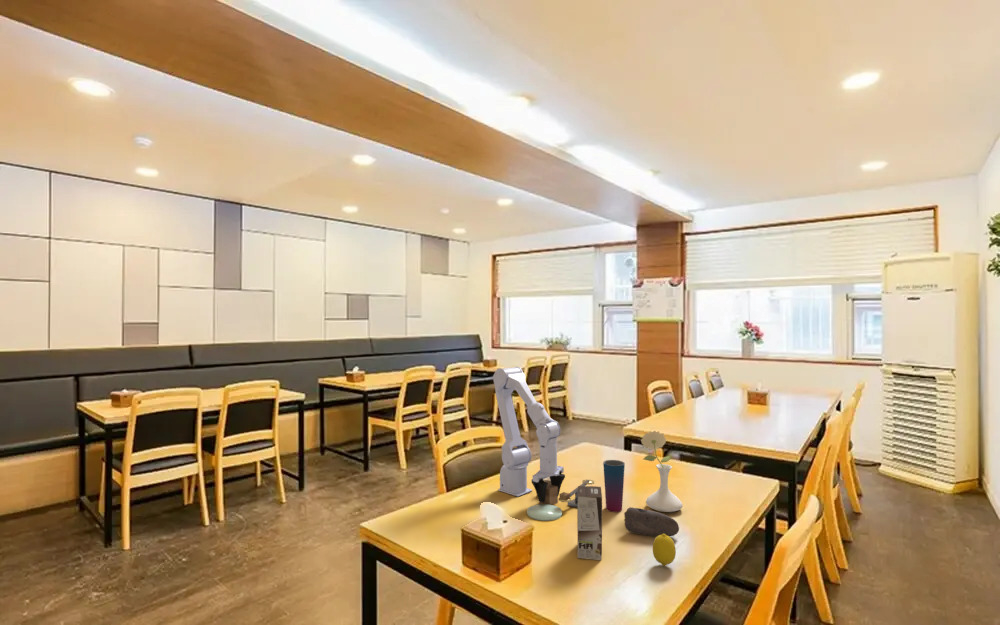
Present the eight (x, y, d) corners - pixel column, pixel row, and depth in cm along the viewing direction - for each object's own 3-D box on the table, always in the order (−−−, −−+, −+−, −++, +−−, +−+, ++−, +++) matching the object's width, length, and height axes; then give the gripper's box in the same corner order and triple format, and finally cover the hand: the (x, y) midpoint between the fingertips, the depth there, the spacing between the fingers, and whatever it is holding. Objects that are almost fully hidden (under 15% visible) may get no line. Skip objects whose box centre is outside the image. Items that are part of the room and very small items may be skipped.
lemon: (649, 561, 132) (649, 529, 132) (670, 560, 133) (670, 529, 133) (657, 571, 127) (657, 539, 127) (679, 570, 127) (679, 538, 127)
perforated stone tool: (679, 535, 148) (679, 510, 148) (678, 542, 143) (678, 517, 143) (625, 527, 153) (625, 504, 153) (623, 534, 148) (623, 510, 148)
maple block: (541, 495, 181) (541, 479, 181) (546, 491, 185) (546, 475, 185) (552, 497, 179) (552, 481, 179) (557, 493, 183) (557, 477, 183)
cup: (625, 513, 164) (625, 466, 164) (603, 512, 165) (603, 465, 165) (624, 505, 170) (624, 460, 170) (603, 504, 172) (603, 459, 172)
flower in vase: (684, 505, 171) (684, 429, 171) (680, 517, 160) (680, 437, 160) (643, 499, 176) (643, 426, 176) (637, 511, 166) (637, 433, 166)
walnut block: (539, 503, 173) (539, 486, 173) (547, 499, 177) (547, 483, 177) (549, 506, 170) (549, 489, 170) (557, 502, 174) (557, 486, 174)
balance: (556, 510, 167) (556, 490, 167) (586, 496, 179) (586, 477, 179) (566, 513, 164) (566, 493, 164) (596, 499, 177) (596, 480, 177)
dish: (520, 514, 164) (520, 510, 164) (541, 504, 172) (541, 501, 172) (547, 523, 156) (547, 520, 156) (569, 513, 164) (569, 510, 164)
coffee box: (602, 560, 133) (602, 497, 133) (577, 558, 134) (576, 496, 134) (601, 545, 142) (601, 486, 142) (578, 543, 143) (577, 484, 143)
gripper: (544, 464, 165) (544, 507, 165) (570, 455, 176) (570, 495, 176) (527, 460, 170) (527, 502, 170) (554, 452, 181) (554, 490, 181)
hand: (548, 498), depth 173 cm, fingers open, 7 cm apart
